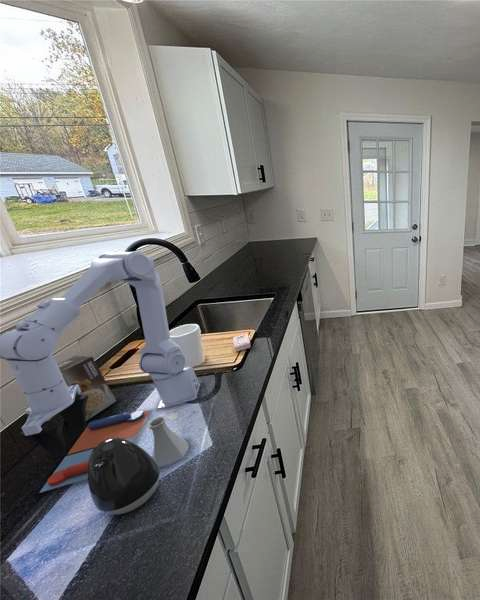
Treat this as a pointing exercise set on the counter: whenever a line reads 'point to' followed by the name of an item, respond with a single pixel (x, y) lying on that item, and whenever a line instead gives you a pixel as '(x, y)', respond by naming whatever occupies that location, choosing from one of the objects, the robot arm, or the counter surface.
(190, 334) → the foam cup
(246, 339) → the soap bar
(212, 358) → the counter surface
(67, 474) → the red spoon
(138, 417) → the blue spoon
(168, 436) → the flask
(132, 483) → the black rounded cone
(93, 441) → the terracotta mat
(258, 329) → the counter surface
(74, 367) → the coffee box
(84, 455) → the blue mat
